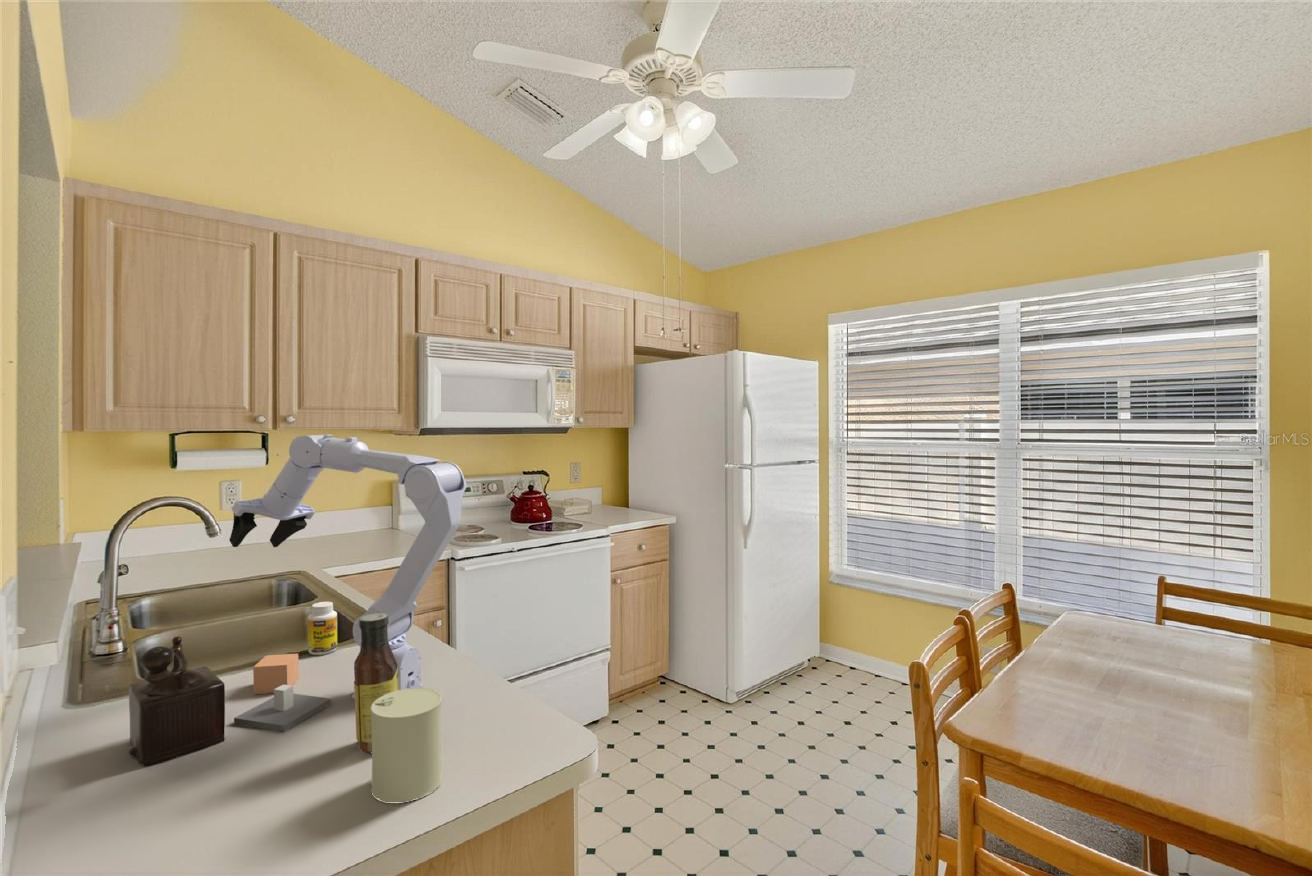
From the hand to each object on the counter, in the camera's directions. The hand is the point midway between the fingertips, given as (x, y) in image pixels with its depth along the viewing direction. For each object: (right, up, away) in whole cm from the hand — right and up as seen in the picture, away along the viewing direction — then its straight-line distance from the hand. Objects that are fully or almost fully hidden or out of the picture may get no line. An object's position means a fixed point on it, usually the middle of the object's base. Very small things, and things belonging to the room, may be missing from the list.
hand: (253, 543), depth 122 cm
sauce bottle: (+34, -27, -23) cm, 49 cm away
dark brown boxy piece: (+4, -27, -25) cm, 37 cm away
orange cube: (+6, -26, -3) cm, 27 cm away
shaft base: (+14, -27, -13) cm, 33 cm away
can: (+42, -28, -34) cm, 61 cm away
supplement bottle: (+5, -26, +15) cm, 30 cm away
